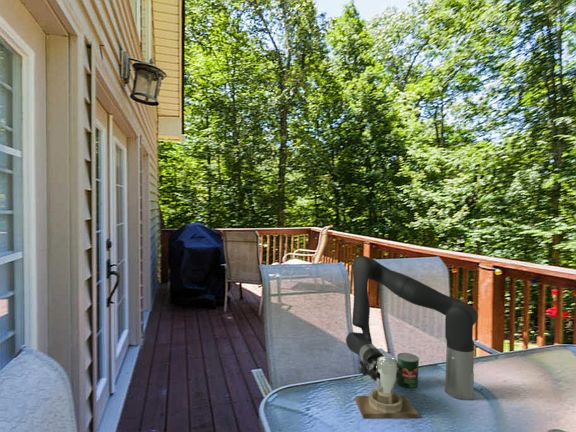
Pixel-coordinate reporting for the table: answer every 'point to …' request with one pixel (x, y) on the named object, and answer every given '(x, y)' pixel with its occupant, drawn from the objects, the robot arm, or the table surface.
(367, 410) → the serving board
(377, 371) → the beer glass
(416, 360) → the canned tomato
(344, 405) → the table surface
